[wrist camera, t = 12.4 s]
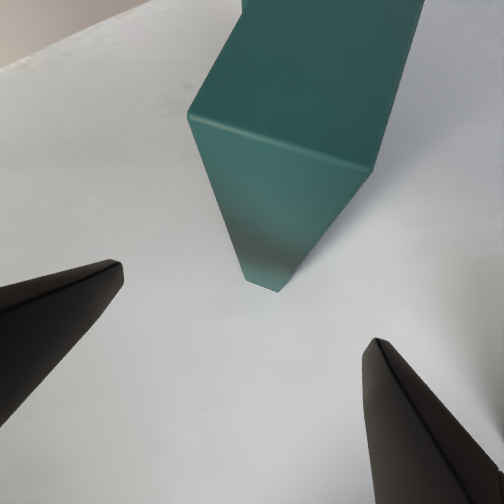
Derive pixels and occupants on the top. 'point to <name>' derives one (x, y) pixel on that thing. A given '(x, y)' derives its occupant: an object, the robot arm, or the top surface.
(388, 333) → the top surface
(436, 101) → the top surface
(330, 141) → the teal book
